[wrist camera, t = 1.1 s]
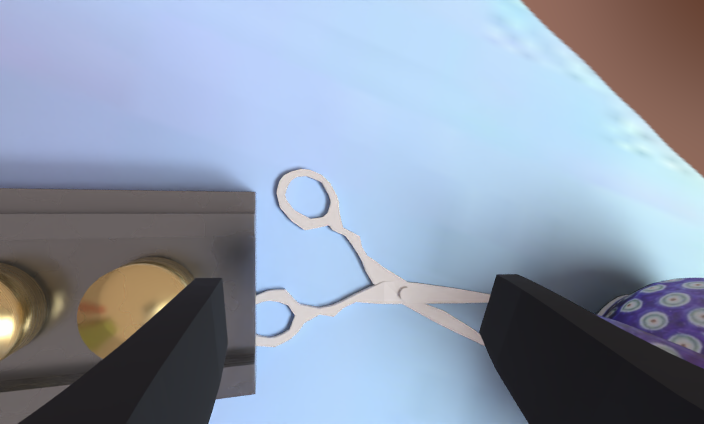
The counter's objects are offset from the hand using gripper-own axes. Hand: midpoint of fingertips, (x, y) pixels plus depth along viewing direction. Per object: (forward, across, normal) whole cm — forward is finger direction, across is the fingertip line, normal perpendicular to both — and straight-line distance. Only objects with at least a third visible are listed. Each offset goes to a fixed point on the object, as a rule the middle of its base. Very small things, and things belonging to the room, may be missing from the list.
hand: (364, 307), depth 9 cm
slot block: (+8, +11, +5) cm, 15 cm away
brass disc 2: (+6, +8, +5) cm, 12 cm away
